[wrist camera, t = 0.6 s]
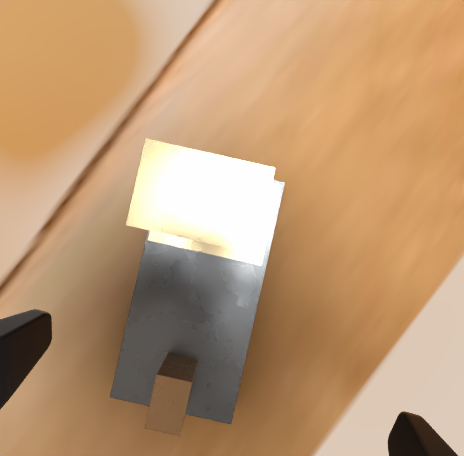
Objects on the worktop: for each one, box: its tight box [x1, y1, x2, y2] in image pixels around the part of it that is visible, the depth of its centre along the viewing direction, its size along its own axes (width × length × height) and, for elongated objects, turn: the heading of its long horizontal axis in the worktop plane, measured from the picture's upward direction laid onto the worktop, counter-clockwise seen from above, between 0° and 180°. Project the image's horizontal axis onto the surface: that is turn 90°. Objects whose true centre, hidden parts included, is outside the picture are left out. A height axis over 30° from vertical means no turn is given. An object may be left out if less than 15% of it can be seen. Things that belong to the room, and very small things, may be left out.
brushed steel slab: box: [110, 180, 285, 436], centre depth 20 cm, size 16×8×5 cm, turn 167°
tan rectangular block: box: [126, 139, 279, 265], centre depth 16 cm, size 5×7×10 cm
